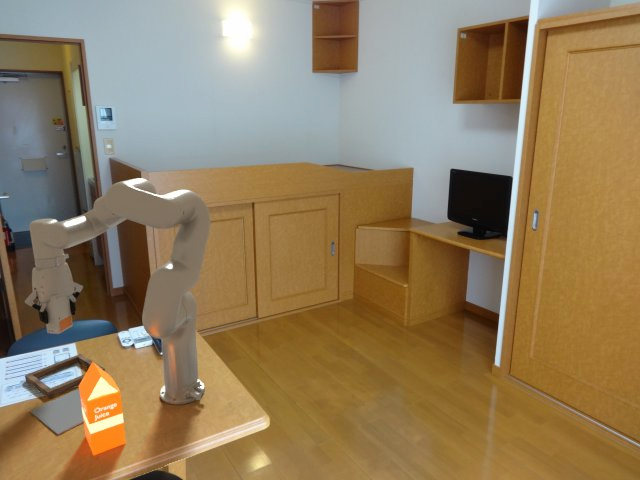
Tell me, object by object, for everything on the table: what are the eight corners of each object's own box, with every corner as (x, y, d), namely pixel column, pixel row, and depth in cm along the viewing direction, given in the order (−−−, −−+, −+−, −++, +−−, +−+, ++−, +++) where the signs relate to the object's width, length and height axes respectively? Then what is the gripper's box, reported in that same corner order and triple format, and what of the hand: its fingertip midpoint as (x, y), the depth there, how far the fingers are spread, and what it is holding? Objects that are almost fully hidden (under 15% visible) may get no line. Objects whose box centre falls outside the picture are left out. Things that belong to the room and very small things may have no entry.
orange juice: (117, 425, 125) (109, 356, 120) (126, 443, 118) (118, 371, 113) (84, 436, 121) (75, 365, 115) (92, 456, 114) (82, 381, 109)
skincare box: (59, 334, 140) (53, 296, 136) (47, 333, 140) (40, 295, 137) (73, 325, 145) (68, 289, 142) (61, 324, 146) (56, 288, 143)
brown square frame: (105, 374, 149) (104, 368, 149) (48, 398, 136) (47, 392, 136) (81, 359, 158) (80, 353, 157) (25, 381, 145) (24, 375, 144)
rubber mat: (113, 407, 132) (113, 406, 132) (57, 435, 121) (57, 434, 121) (84, 387, 142) (84, 386, 142) (30, 411, 130) (29, 410, 130)
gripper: (73, 252, 146) (81, 306, 151) (11, 266, 133) (21, 325, 137) (86, 256, 142) (93, 312, 146) (23, 271, 128) (33, 331, 133)
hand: (58, 317), depth 142 cm, fingers closed on skincare box, 7 cm apart
